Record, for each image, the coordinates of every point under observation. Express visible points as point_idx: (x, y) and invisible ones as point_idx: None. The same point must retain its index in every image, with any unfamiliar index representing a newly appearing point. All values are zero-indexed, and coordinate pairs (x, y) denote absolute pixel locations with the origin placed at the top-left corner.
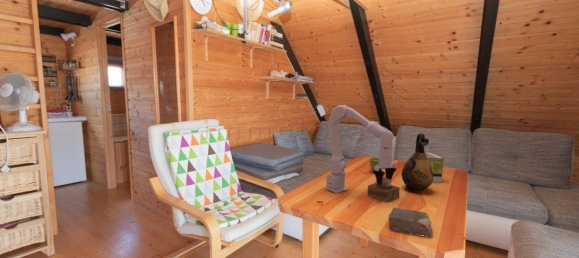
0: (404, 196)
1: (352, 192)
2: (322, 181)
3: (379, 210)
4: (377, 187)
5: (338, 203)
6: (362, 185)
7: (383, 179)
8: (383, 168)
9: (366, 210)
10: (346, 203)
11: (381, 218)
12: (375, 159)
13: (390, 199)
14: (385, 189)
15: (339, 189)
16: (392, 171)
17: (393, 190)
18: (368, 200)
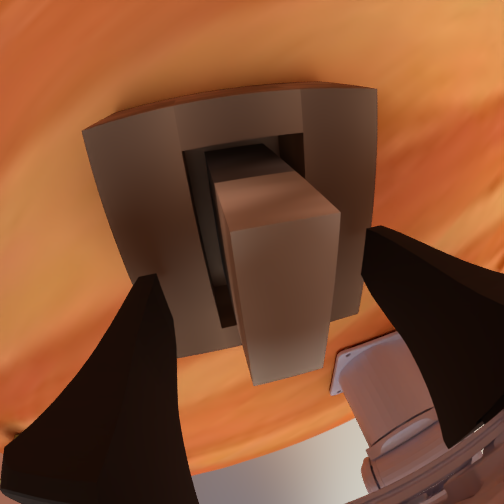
0: (44, 123)
1: (353, 319)
2: (328, 422)
3: (459, 46)
4: (346, 244)
5: (494, 224)
6: (202, 386)
7: (330, 296)
8: (448, 464)
9: (493, 97)
10: (484, 209)
11: (497, 8)
12: None
13: (273, 84)
14: (335, 155)
15: (395, 344)
16: (123, 436)
17: (245, 93)
18: (398, 183)
